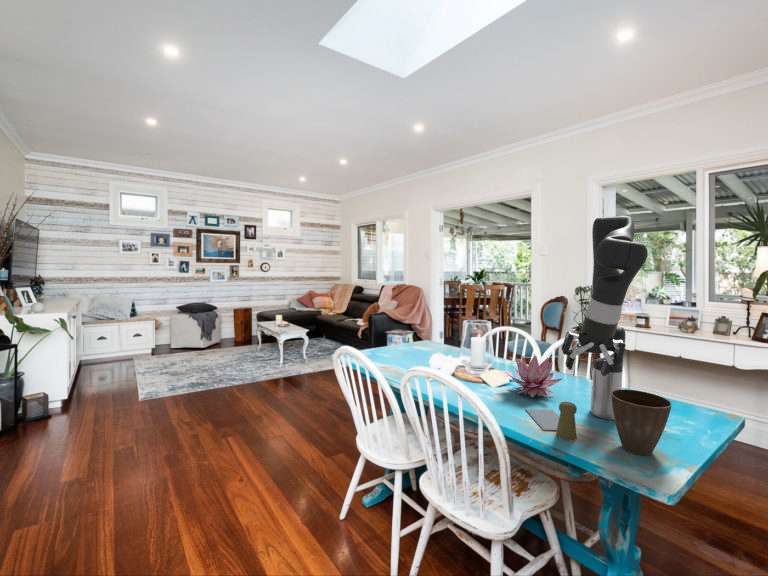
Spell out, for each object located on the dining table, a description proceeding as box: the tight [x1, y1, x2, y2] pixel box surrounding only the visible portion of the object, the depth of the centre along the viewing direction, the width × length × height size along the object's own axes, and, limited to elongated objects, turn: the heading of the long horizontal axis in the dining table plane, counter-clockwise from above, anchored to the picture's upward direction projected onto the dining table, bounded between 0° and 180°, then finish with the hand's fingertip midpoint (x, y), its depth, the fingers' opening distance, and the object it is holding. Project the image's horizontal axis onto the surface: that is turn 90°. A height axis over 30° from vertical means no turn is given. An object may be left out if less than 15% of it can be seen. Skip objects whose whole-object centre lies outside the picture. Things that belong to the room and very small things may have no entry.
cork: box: [555, 401, 578, 441], centre depth 121 cm, size 6×6×11 cm
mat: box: [525, 408, 560, 432], centre depth 133 cm, size 18×10×1 cm, turn 178°
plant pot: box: [611, 388, 673, 456], centre depth 112 cm, size 15×15×16 cm
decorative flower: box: [505, 355, 563, 399], centre depth 159 cm, size 21×21×15 cm
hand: (585, 371), depth 102 cm, fingers open, 8 cm apart
